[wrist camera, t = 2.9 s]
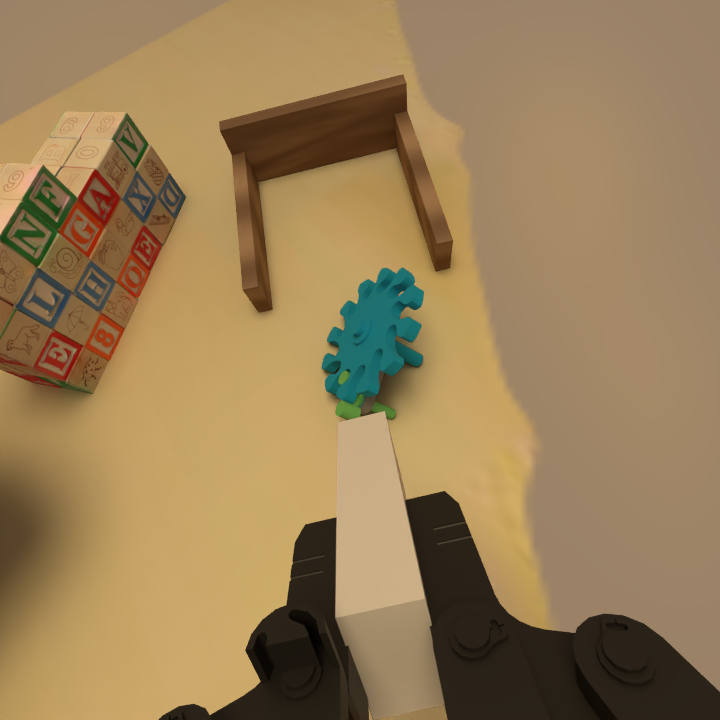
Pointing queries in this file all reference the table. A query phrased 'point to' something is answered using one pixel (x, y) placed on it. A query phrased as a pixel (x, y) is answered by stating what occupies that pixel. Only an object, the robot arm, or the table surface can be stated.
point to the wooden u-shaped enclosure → (325, 162)
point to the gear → (372, 342)
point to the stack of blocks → (78, 246)
